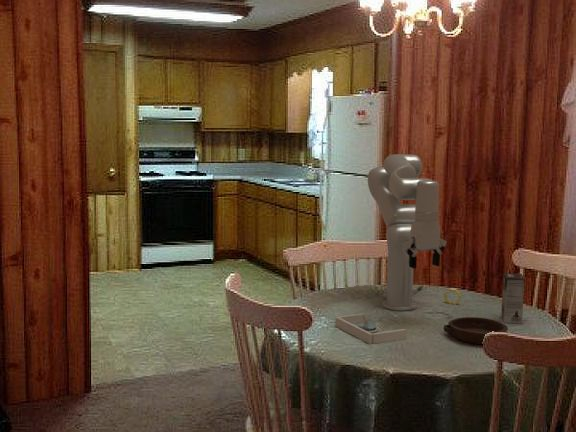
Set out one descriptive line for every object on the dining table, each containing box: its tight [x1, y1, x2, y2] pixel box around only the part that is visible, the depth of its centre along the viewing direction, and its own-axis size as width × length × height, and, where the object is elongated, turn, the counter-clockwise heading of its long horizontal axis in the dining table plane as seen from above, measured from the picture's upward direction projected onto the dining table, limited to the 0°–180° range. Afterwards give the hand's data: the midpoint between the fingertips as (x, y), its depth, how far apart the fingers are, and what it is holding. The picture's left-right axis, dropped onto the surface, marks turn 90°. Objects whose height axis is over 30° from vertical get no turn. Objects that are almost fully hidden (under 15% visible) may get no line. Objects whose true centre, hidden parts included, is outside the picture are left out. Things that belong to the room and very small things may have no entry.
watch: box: [444, 287, 462, 305], centre depth 254 cm, size 6×3×6 cm, turn 62°
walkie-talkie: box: [413, 285, 424, 295], centre depth 272 cm, size 9×4×20 cm
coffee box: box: [500, 272, 525, 325], centre depth 231 cm, size 9×6×16 cm
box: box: [334, 312, 408, 345], centre depth 215 cm, size 22×14×3 cm, turn 26°
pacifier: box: [357, 311, 379, 333], centre depth 216 cm, size 7×6×6 cm
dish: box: [443, 316, 509, 345], centre depth 209 cm, size 17×22×5 cm
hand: (424, 266), depth 223 cm, fingers open, 9 cm apart
